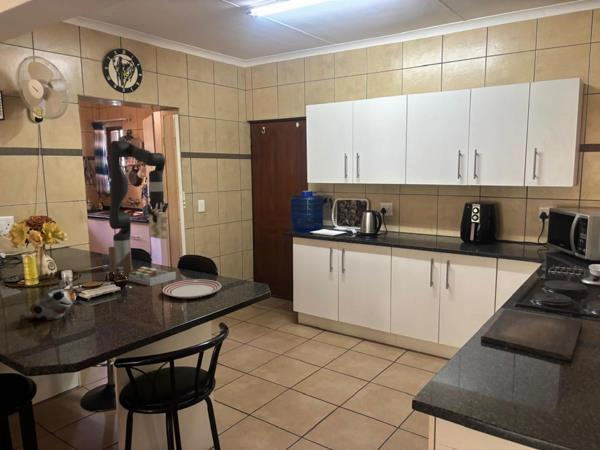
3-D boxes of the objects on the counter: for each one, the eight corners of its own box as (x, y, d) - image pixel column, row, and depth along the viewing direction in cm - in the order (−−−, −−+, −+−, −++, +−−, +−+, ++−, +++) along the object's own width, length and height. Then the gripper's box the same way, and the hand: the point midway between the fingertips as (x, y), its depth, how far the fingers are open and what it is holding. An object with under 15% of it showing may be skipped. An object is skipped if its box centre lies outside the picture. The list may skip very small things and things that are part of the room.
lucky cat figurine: (57, 308, 190) (71, 280, 189) (71, 324, 185) (86, 295, 184) (22, 308, 177) (37, 278, 176) (37, 325, 171) (52, 294, 170)
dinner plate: (207, 303, 197) (207, 296, 197) (151, 300, 203) (151, 293, 202) (229, 287, 224) (229, 280, 224) (179, 284, 229) (179, 278, 229)
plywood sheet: (149, 236, 244) (148, 211, 242) (153, 236, 246) (152, 211, 244) (163, 239, 237) (162, 213, 235) (167, 238, 239) (166, 212, 237)
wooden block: (131, 278, 242) (130, 245, 239) (110, 281, 236) (108, 247, 234) (130, 276, 245) (128, 244, 242) (109, 279, 239) (107, 246, 237)
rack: (128, 280, 237) (128, 273, 236) (154, 274, 250) (154, 267, 250) (150, 285, 226) (149, 278, 226) (175, 279, 240) (175, 271, 239)
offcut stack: (132, 280, 236) (132, 269, 235) (143, 278, 242) (143, 266, 241) (149, 284, 228) (148, 272, 227) (160, 281, 234) (159, 270, 233)
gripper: (162, 189, 246) (163, 220, 249) (140, 190, 235) (142, 222, 237) (171, 190, 242) (172, 221, 244) (149, 191, 231) (150, 224, 233)
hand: (157, 222), depth 241 cm, fingers closed on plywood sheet, 2 cm apart
